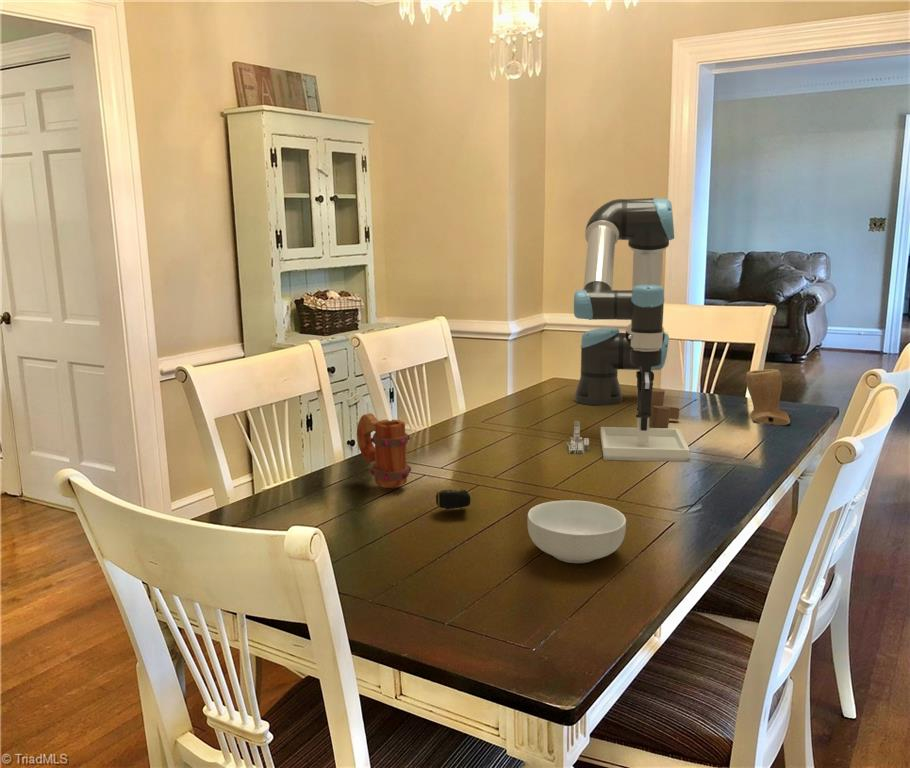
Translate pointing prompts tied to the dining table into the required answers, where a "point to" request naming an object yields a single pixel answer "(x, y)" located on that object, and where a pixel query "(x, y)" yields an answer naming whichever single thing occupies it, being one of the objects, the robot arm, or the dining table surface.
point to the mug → (384, 449)
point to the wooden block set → (661, 410)
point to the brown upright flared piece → (766, 396)
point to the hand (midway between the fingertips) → (642, 441)
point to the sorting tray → (643, 445)
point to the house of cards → (577, 441)
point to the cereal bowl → (576, 529)
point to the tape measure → (452, 499)
